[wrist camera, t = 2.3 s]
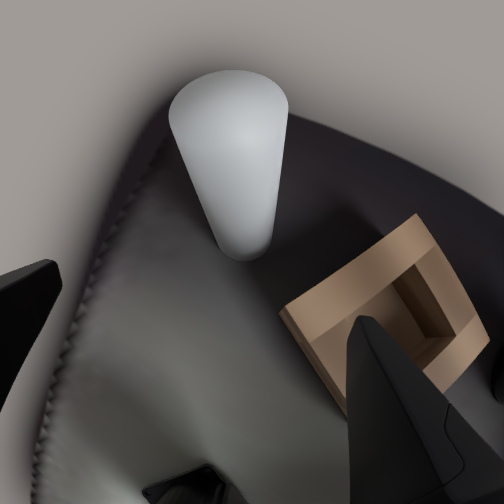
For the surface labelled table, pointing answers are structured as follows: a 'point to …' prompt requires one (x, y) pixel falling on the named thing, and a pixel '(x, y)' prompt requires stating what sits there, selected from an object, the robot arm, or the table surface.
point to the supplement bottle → (499, 378)
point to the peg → (233, 154)
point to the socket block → (391, 310)
